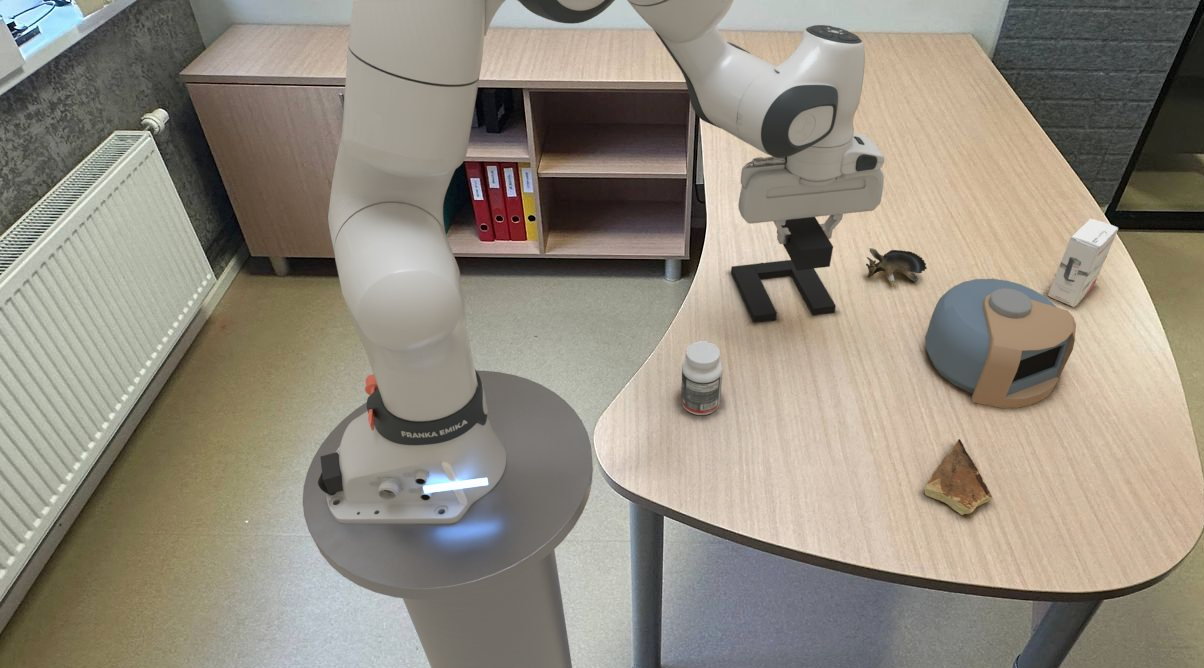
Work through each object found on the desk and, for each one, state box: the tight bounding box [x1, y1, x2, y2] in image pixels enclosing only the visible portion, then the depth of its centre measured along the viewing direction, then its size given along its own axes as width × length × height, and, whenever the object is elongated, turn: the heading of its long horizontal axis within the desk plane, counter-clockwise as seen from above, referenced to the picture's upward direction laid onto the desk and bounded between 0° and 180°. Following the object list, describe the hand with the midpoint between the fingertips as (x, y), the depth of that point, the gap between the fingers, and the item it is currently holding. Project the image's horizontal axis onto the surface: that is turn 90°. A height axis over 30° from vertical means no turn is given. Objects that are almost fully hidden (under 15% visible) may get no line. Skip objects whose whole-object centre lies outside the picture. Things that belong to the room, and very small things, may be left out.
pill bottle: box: [680, 340, 724, 416], centre depth 111 cm, size 6×6×10 cm
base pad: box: [730, 259, 837, 324], centre depth 133 cm, size 14×14×2 cm
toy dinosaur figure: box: [865, 247, 928, 288], centre depth 135 cm, size 8×7×9 cm
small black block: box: [776, 217, 834, 270], centre depth 115 cm, size 5×10×4 cm, turn 11°
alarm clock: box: [924, 278, 1077, 409], centre depth 117 cm, size 19×20×12 cm
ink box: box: [1047, 218, 1119, 308], centre depth 131 cm, size 9×5×12 cm, turn 137°
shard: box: [924, 438, 993, 516], centre depth 103 cm, size 11×8×2 cm
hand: (804, 239), depth 115 cm, fingers closed on small black block, 5 cm apart
